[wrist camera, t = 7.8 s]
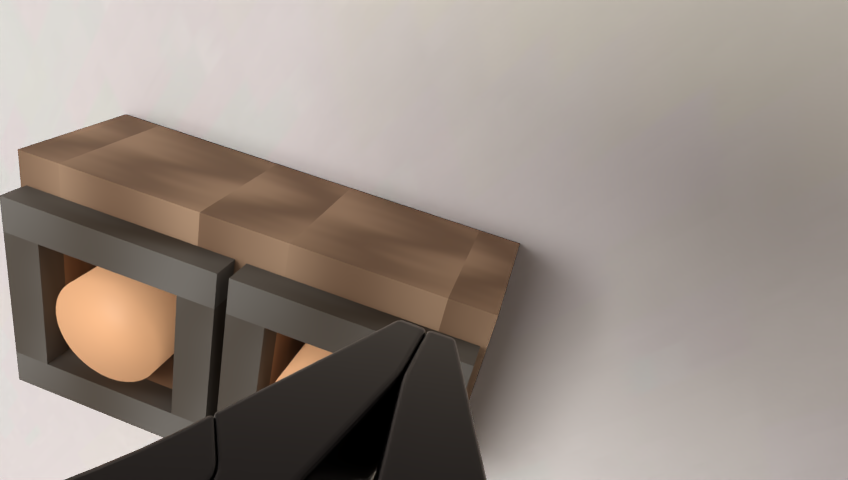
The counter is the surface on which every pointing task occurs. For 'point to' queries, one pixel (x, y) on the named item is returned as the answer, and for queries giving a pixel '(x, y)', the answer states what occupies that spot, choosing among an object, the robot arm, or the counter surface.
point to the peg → (117, 324)
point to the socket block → (228, 266)
